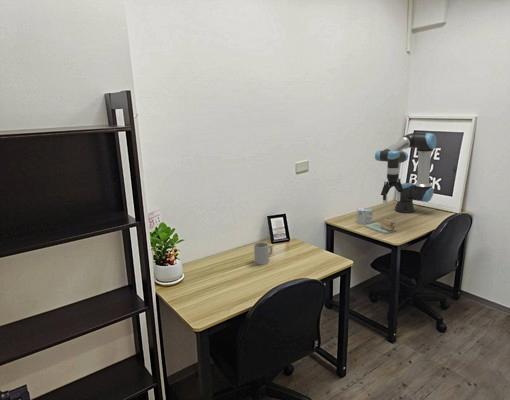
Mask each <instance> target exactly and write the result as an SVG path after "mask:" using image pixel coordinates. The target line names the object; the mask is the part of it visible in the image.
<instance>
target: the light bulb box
mask: <svg viewBox="0 0 510 400" xmlns="http://www.w3.org/2000/svg"><path fill="white" fill-rule="evenodd" d="M356 210H357V211H356V215H357V216H356V222H357V224H359V225H361V224H363V225H364V224H365V225H368V224H372V223H373V208H371V207H360V208H359V207H358V208H357V209H356Z"/></svg>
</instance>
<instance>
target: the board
mask: <svg viewBox="0 0 510 400" xmlns="http://www.w3.org/2000/svg"><path fill="white" fill-rule="evenodd" d="M363 226H364V227H363V228H365V229H368V230H371V231H375V232H377V233H381V234H384V235H386V234H390V233H393V232H396V231H398V228H396V227H395V228H394V230H392V231H387V230H384V229H381V222H372V224H365V225H364V224H363Z"/></svg>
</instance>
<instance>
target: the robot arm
mask: <svg viewBox="0 0 510 400" xmlns="http://www.w3.org/2000/svg"><path fill="white" fill-rule="evenodd" d="M437 143H438V140H437V137H436V134H434V133H430V132H412V133H407V134H405V135H403V136H402V137H400V138H399V139H398V141H396V142H395V143H392V144H391V145H389V146H388V147H386V148H384V149H383V150H376V152H375V153H374V159H375V161H378V162H379V161H380V162H387V167H386V168H387V170H386V171H387V172H386V179H387V181H384V184H383V187H382V190H381V192H380V195H381V196H382V204H383V205H385V206H387V205H388V193H389V191H390V190H391V189H392V188H393V187H394V188H395V190H396V193H395V194H396V195H395V196H396V197H395V200H396V201H397V202H396V204H395V207H394V211H395V212H398V213H402V214H412V213H414V212H415V206H414V202H413V201H418V202H425V203H429V202H431V200H432V198H433V196H434V191H435V190H434V188H433V187H432V184H431V183H430V171H431V155H432V152H434V150H435V149H436V148H437ZM409 148H411V149H413V148H414V149H416V152H417V153H418V161H417V177H416V179H417V181H416V183H415V184H414V183H413V182H404V183H403V182H401V179H400V178H399V172H400V171H399V170H400V164H402V163H404V162H406V161H407V160H408V158H409V154H408V153H407V152H406V151H403V150H407V149H409Z"/></svg>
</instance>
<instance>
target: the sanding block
mask: <svg viewBox="0 0 510 400" xmlns="http://www.w3.org/2000/svg"><path fill="white" fill-rule="evenodd" d="M380 223H381V229H384V230H387V231H392V230H394V228H396V227H395V226H396V221H393V220H390V219H387V218H384V219H381V220H380Z"/></svg>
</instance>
